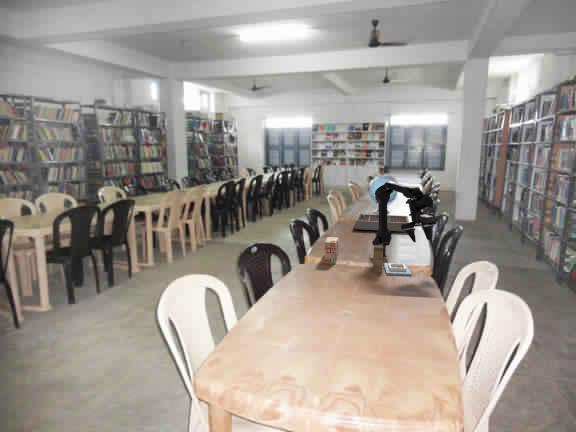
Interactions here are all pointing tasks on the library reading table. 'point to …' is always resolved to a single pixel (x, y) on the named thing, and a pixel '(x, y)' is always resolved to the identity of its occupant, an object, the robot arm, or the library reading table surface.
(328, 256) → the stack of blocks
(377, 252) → the walnut column
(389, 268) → the blueprint board
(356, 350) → the library reading table surface
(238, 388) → the library reading table surface
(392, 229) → the organizer tray
